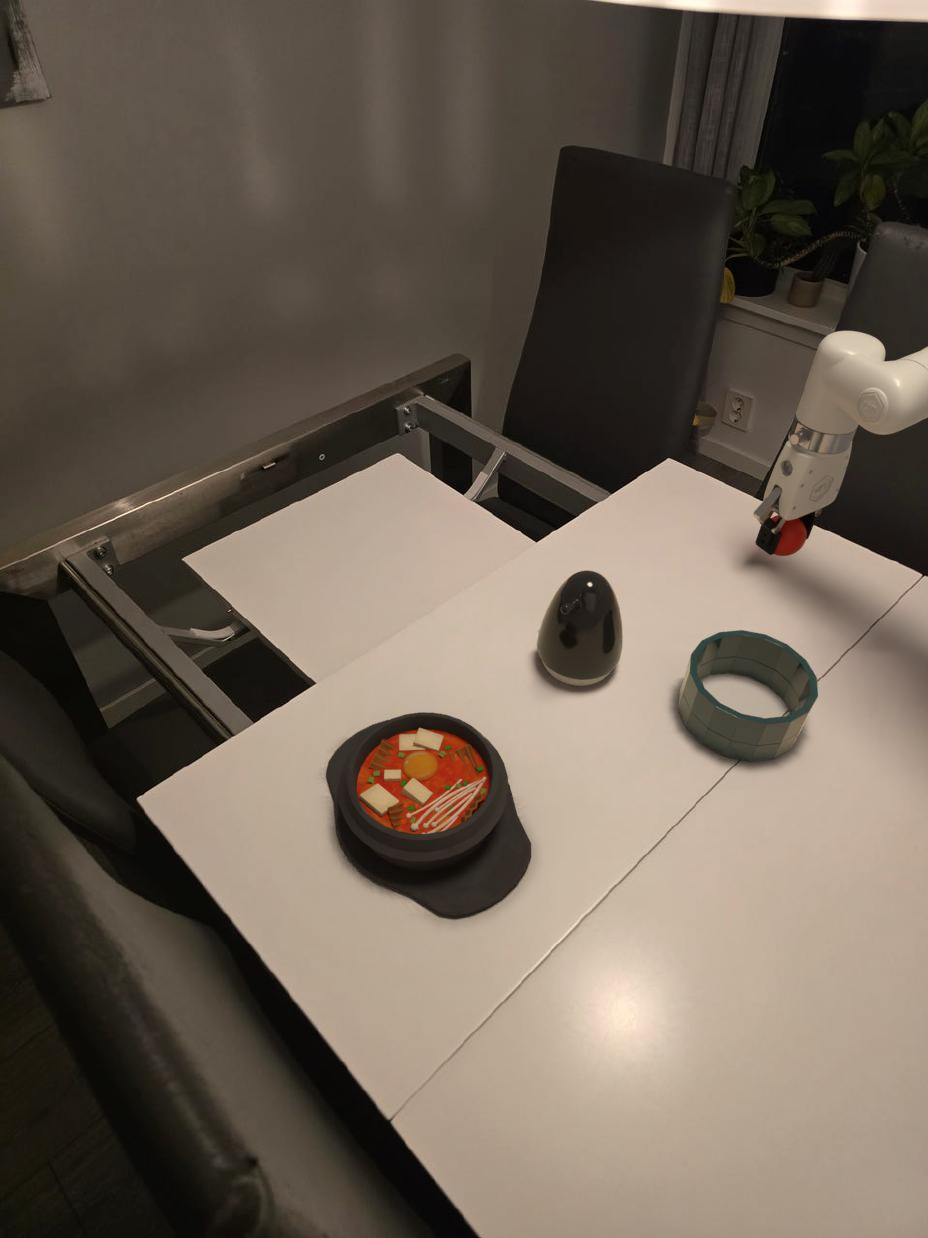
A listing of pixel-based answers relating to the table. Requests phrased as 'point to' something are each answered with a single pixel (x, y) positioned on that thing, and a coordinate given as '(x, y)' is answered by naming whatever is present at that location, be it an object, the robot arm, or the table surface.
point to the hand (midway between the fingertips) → (781, 540)
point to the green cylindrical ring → (763, 664)
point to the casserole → (429, 811)
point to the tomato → (791, 537)
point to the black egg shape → (581, 630)
